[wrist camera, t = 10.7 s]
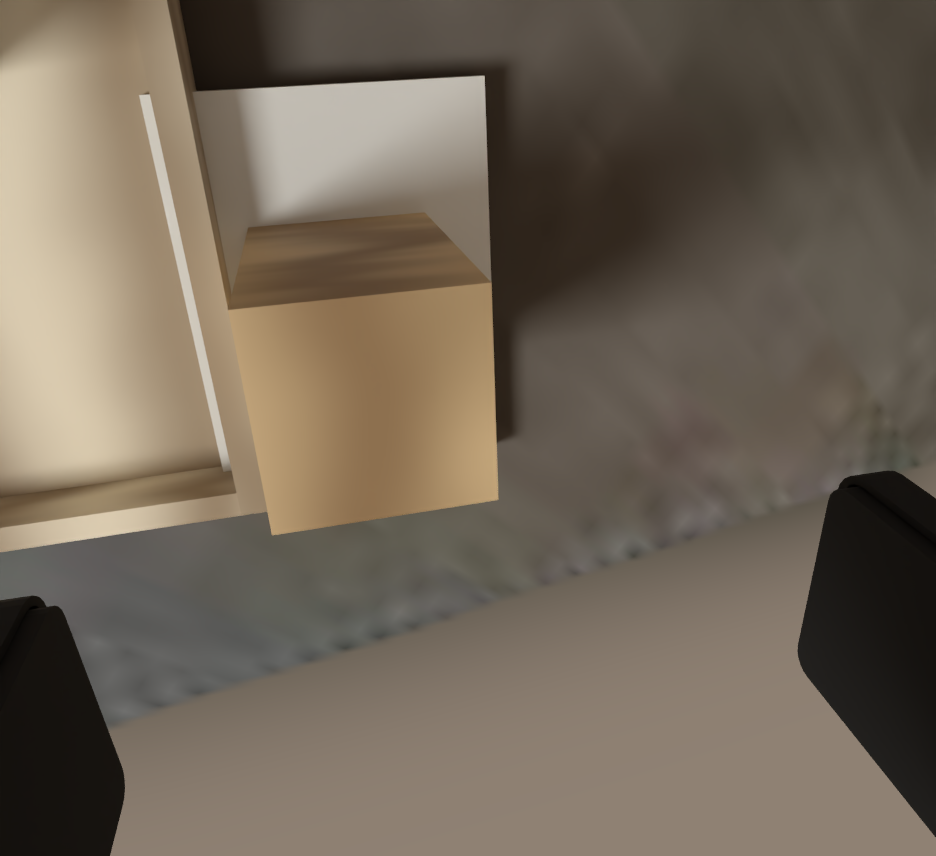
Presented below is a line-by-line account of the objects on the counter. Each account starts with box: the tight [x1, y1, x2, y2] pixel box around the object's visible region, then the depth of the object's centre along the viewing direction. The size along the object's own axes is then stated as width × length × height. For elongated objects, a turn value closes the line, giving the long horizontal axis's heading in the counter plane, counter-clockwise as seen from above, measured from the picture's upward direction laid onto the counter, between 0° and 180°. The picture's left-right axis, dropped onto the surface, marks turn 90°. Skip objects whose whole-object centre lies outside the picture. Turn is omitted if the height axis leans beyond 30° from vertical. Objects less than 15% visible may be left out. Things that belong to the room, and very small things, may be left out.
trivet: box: [139, 75, 491, 472], centre depth 23 cm, size 9×12×1 cm
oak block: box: [228, 212, 498, 535], centre depth 19 cm, size 5×5×8 cm
